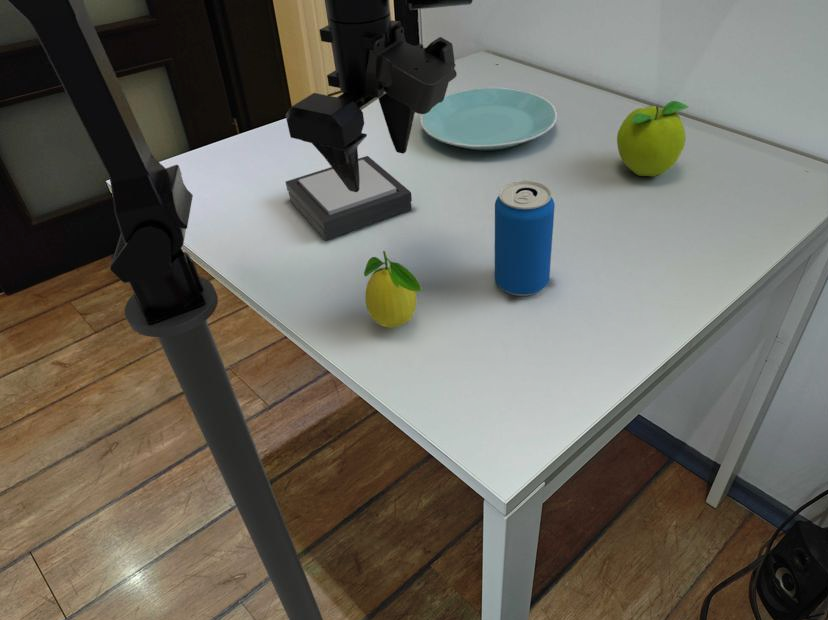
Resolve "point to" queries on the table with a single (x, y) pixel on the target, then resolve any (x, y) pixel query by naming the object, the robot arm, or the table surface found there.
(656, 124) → the fruit
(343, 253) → the table surface
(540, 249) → the beverage can
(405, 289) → the lemon
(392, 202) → the scale
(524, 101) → the plate
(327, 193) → the scale pan
